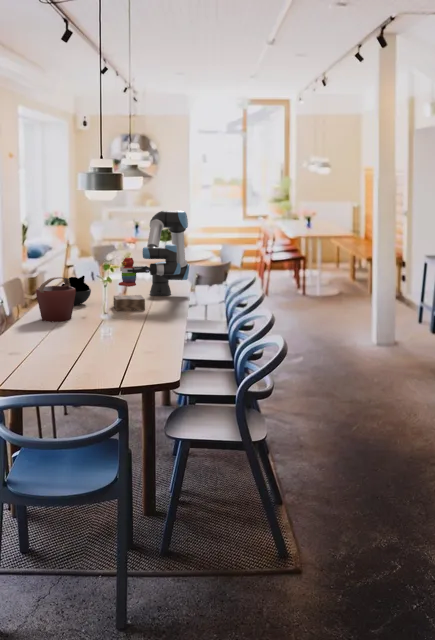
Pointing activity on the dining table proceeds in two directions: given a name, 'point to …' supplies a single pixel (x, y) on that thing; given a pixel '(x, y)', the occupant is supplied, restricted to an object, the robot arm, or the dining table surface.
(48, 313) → the bucket
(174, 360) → the dining table surface
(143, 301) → the walnut block
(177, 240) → the robot arm
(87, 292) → the coal bowl
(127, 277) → the stacking bear
